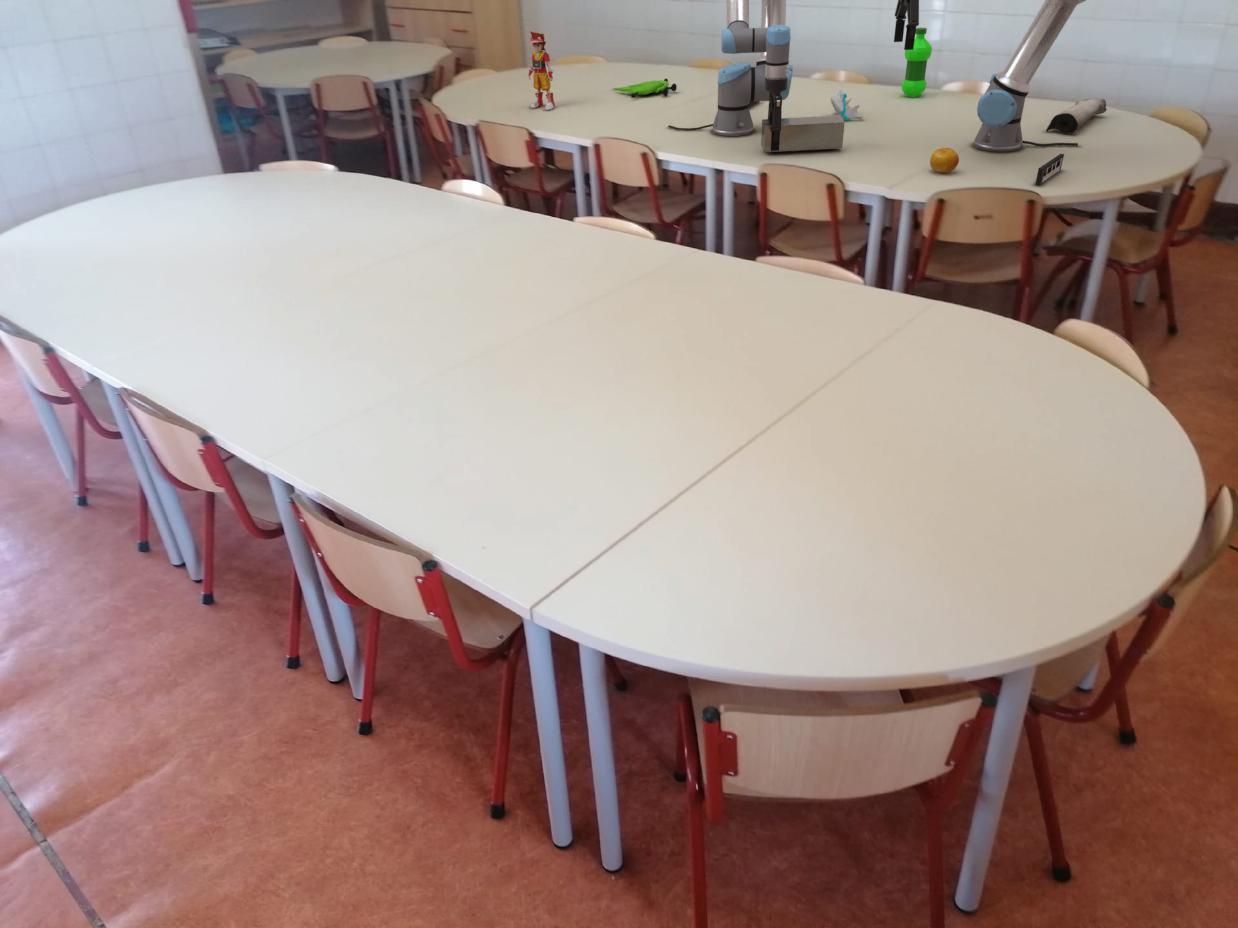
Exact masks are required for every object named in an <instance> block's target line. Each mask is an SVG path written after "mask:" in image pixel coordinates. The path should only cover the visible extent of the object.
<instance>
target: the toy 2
mask: <svg viewBox="0 0 1238 928" xmlns="http://www.w3.org/2000/svg"><path fill="white" fill-rule="evenodd" d="M669 85H670V83H669V79H668V78H664V79H663V80H649V81H644V82H640V83H634V84H629V85H627V86H621V87H613V88H612V89H613V90H616V91H619V92H623V93H627V94H628V93H629V94H631V95H630V96H631V98H632V99H634V98H636V96H637V95H650V94H652V93H654V94H658V93H662V95H663V96H665V97H667V96H668V95H669V90H671V91H672V92H676V91H677V84H676V83H672V84H671V86H669Z"/></svg>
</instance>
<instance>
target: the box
mask: <svg viewBox="0 0 1238 928" xmlns="http://www.w3.org/2000/svg"><path fill="white" fill-rule="evenodd" d="M776 128H778V127H776ZM772 129H773V122H772V119H768V118H766V119H765V118H764V119H761V134H760V136H761V139H760V146H761V149H762V151H763V153H777V152H778V153H779V152H798V151H815V150H816V151H817V150H835V149H837V150H838V149H843V144H844V133H845V120H844V119H843V117H842V115H841V114H839V115H823V116H801V117H800V116H799V117H785V118H782V117H781V131H780V142H779V151H771V137H772V132H770V130H772Z"/></svg>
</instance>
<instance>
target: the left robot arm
mask: <svg viewBox="0 0 1238 928" xmlns="http://www.w3.org/2000/svg"><path fill="white" fill-rule="evenodd" d="M786 18H787V0H761V17H760V19H761V20H760V21H761V22H760V23H761V24H760V25H761V26H760V27H750V1H749V0H726V28H725V29H722V30H721V36H720V37H721V39H720V43H721V45H720V48H721V53H722V54H726V55H727V54H728V55H729V54H730V55H737V54H753V53H754V54H756V53H760V57H759V58H758V59H757V60H756V61H755V64H756V65H755V66H752V65H751V63H750V62H747V61H746V62H735V63H730V64H727V65H724V66H722V67H720V69H719V70H718V75H717V111H716V114H715V118H714V120H713V123H711V124H707V125H703V126H702V125H701V126H699V127H697V126H696V127H677V126H673V125H671V124H668V128H671V129H674V130H677V131H697V130H702V129H703V130H704V129H706V128H710V127H712V133H713V134H715V135H717V136H721V137H741V136H746V135H750V134H752V133H754V127H755V126H754V122H753V118H752V115H751V111H750V107H749V102H754V101H760V102H768V109H767V110H768V112H767V113H768V114H767V119H772V122H773V129H772V130H770V132H772V137H771V151H779V142H780V131H781V118H782V109H783V108H782V107H783V101H785V100H786V99H788V96H789V94H790V90H791V85H792V79H793V70H794V67H793V65H791V64H789V63H790V61H789V60H790V45H791V27H790V26H788V25H786V22H787V21H786V20H787V19H786ZM776 127H778V128H776ZM779 152H780V151H779Z"/></svg>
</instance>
